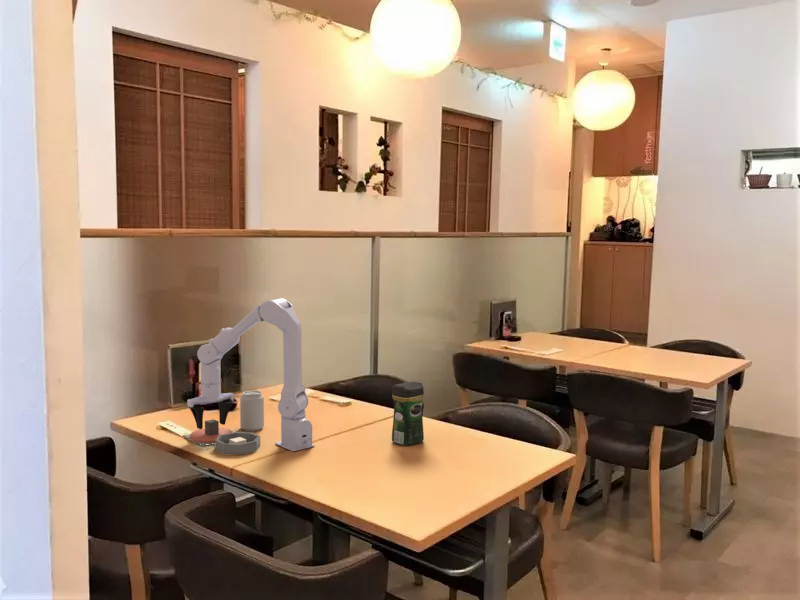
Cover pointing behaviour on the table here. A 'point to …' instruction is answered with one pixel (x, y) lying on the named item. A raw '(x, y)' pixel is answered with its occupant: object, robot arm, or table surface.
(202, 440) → the lid
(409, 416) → the coffee jar
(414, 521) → the table surface
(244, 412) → the can
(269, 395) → the table surface
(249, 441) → the bowl
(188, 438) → the mat
